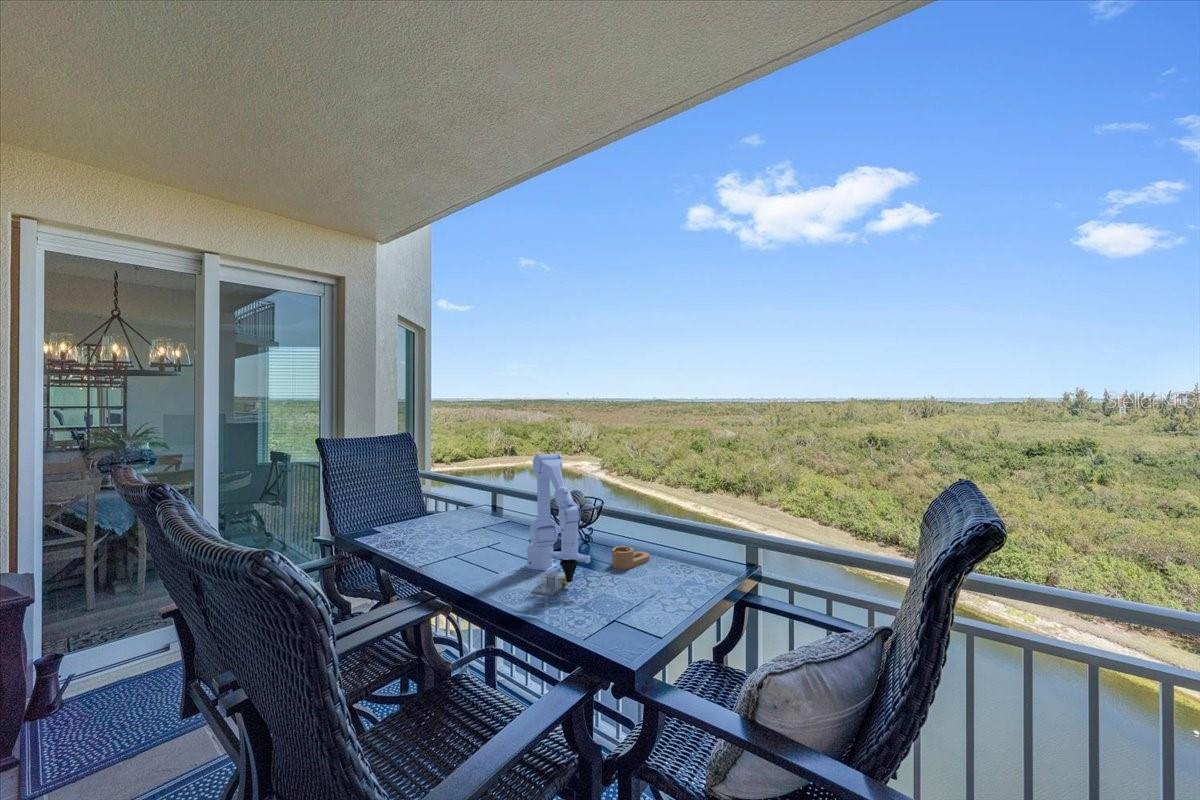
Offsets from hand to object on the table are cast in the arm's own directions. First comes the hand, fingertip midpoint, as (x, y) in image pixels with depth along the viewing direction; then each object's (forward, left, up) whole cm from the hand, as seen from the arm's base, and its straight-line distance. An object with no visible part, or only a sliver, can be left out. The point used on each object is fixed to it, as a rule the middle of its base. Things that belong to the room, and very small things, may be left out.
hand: (569, 581), depth 163 cm
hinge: (-6, 0, -2) cm, 6 cm away
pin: (-6, 0, -2) cm, 6 cm away
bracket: (+12, +31, -3) cm, 34 cm away
